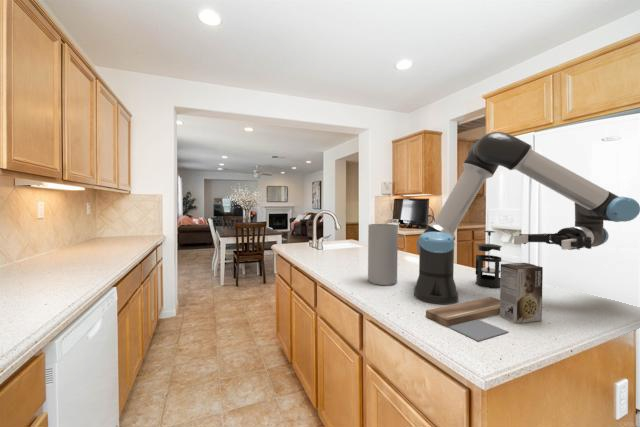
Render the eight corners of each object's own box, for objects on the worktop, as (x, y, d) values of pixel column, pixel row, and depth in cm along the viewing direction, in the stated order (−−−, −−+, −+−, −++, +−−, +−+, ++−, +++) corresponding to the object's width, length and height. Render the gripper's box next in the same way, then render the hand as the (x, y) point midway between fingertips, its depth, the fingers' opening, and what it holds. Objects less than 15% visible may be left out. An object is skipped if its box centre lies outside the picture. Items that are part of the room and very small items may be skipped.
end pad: (448, 327, 80) (448, 326, 80) (477, 320, 85) (477, 319, 85) (478, 341, 72) (478, 340, 72) (508, 332, 77) (508, 331, 77)
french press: (508, 288, 117) (509, 231, 117) (488, 289, 115) (489, 232, 115) (486, 280, 129) (487, 229, 128) (467, 281, 127) (468, 229, 126)
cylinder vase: (387, 277, 134) (387, 223, 133) (402, 284, 122) (403, 225, 121) (362, 279, 130) (363, 224, 129) (377, 287, 118) (377, 226, 117)
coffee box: (522, 312, 91) (524, 262, 90) (542, 321, 84) (544, 266, 84) (498, 315, 89) (499, 263, 88) (516, 323, 83) (518, 268, 82)
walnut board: (425, 316, 87) (425, 309, 87) (490, 302, 100) (490, 296, 100) (447, 327, 80) (447, 319, 80) (514, 310, 93) (514, 304, 93)
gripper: (623, 254, 88) (587, 260, 79) (534, 244, 111) (498, 248, 102) (623, 229, 88) (587, 233, 79) (534, 225, 111) (498, 227, 102)
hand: (537, 242), depth 91 cm, fingers open, 13 cm apart
